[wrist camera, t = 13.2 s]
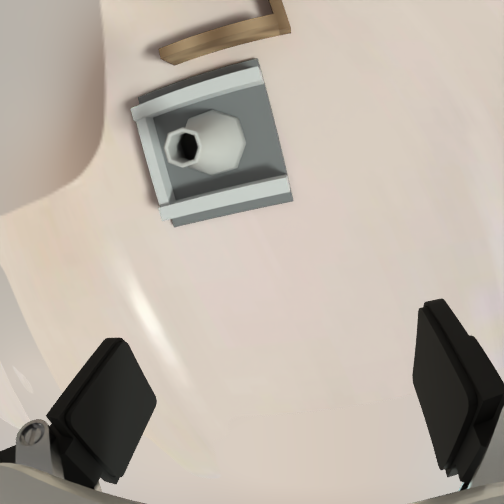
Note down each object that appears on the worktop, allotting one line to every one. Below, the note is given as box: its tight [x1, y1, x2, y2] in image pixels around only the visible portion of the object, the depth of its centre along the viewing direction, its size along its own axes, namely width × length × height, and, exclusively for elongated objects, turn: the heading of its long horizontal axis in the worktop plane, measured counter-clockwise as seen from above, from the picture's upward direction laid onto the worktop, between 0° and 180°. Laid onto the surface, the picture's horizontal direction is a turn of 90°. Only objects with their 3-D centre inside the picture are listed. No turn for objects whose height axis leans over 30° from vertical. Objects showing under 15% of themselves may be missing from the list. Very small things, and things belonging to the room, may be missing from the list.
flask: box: [164, 110, 246, 176], centre depth 28 cm, size 7×7×10 cm
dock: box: [131, 59, 293, 227], centre depth 32 cm, size 14×16×3 cm
